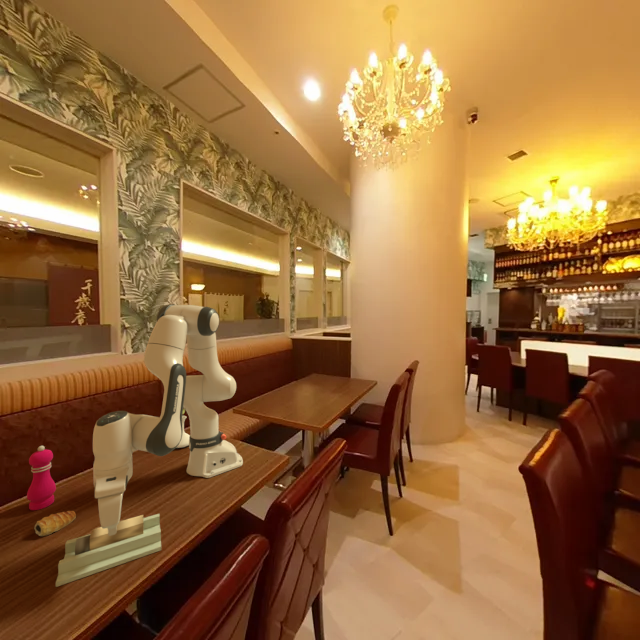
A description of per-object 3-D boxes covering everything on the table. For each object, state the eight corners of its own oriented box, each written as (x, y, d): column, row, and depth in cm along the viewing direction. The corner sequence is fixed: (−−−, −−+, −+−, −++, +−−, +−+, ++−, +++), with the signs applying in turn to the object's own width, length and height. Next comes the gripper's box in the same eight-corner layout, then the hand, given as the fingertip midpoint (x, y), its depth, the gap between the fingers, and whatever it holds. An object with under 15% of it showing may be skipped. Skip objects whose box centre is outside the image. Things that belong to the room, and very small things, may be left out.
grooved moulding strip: (159, 520, 94) (159, 508, 94) (161, 550, 82) (161, 537, 82) (68, 547, 83) (68, 534, 83) (55, 587, 71) (55, 572, 71)
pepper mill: (39, 498, 105) (38, 441, 105) (61, 497, 106) (60, 441, 105) (20, 512, 98) (19, 451, 97) (44, 510, 98) (43, 450, 98)
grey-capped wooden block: (143, 531, 87) (143, 514, 87) (143, 540, 84) (143, 522, 84) (78, 552, 80) (77, 533, 80) (75, 562, 76) (74, 543, 76)
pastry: (70, 514, 97) (70, 502, 97) (80, 521, 94) (80, 508, 94) (31, 532, 89) (31, 519, 89) (41, 540, 86) (41, 527, 86)
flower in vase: (185, 438, 156) (185, 390, 156) (198, 443, 150) (198, 394, 149) (160, 447, 146) (160, 396, 145) (173, 453, 139) (172, 400, 139)
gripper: (104, 459, 90) (105, 505, 90) (93, 496, 72) (94, 552, 72) (129, 454, 93) (130, 498, 93) (124, 488, 75) (125, 542, 75)
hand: (114, 522), depth 83 cm, fingers open, 8 cm apart
